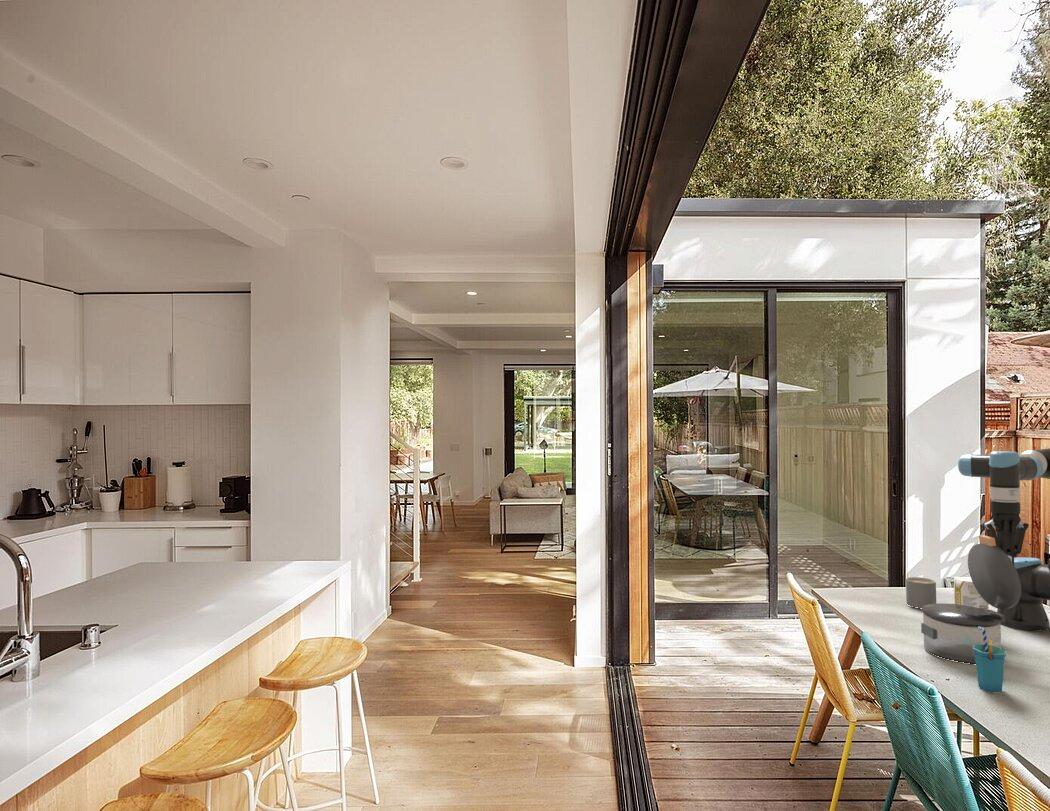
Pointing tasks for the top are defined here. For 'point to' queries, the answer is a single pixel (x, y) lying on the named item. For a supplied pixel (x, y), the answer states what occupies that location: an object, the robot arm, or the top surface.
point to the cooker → (959, 630)
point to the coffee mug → (920, 591)
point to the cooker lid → (994, 574)
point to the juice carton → (967, 593)
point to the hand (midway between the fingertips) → (1006, 576)
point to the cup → (989, 665)
